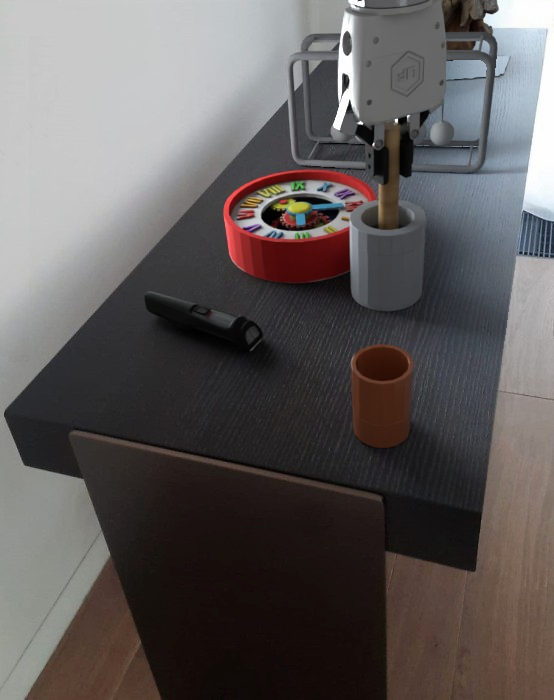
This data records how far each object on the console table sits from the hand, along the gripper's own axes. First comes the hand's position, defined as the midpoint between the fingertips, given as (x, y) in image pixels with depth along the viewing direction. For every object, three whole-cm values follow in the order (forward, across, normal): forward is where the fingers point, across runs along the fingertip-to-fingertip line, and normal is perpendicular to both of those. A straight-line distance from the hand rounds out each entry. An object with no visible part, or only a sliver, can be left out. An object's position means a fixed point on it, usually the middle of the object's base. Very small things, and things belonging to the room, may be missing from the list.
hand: (389, 175), depth 75 cm
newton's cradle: (+15, +21, +32) cm, 41 cm away
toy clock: (+15, -3, +16) cm, 22 cm away
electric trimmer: (+15, -22, +5) cm, 27 cm away
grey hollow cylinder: (+15, 0, 0) cm, 15 cm away
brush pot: (+15, -13, -19) cm, 27 cm away
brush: (+14, 0, 0) cm, 14 cm away
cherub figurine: (+15, +58, +60) cm, 85 cm away
